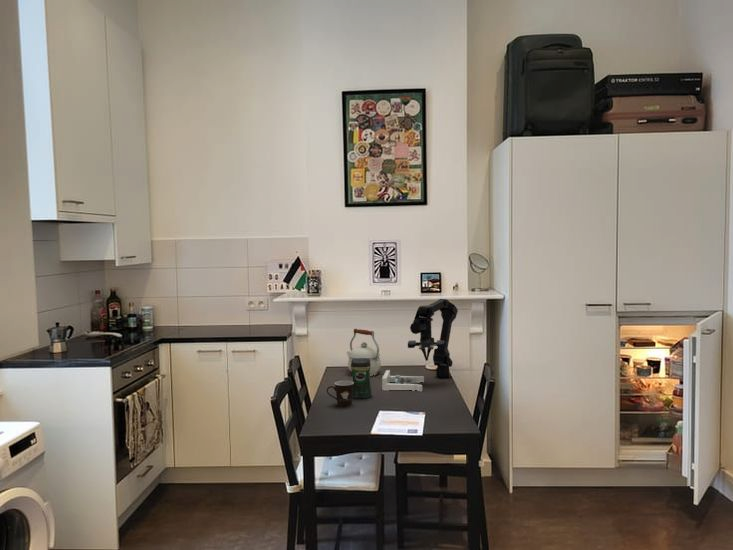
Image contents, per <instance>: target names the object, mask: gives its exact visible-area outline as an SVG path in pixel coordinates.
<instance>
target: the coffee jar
mask: <svg viewBox="0 0 733 550" xmlns="http://www.w3.org/2000/svg"><path fill="white" fill-rule="evenodd" d="M370 369H371V364H370V359H369V358H353V359H352V361H351V370H352V371H351V370H350V371H351V373H352V374H351V377H352V378H351V379H352V380H351V381H352V382H354V386H353V397H352V399H369V398H371V397H372V395H373V391H372V384H371V376H370Z"/></svg>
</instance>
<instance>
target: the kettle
mask: <svg viewBox="0 0 733 550" xmlns="http://www.w3.org/2000/svg"><path fill="white" fill-rule="evenodd" d="M357 334H359V335H366V336H371V338H372V341H373V343H374V345H375V346H376V348H375V347H373V346H368V343H367V342H365V341H363V342H362V343H361V344H360V346H356V347H355V348H353V341H354V339H355V338H356V336H357ZM349 348H350V349H349V351H346V354H347V357H348V362H347V366H348V369H349V371H351V372H352V370H351V361H352V359H353V358H369V359H370V364H371V369H370V377H373V375H374V376H376V375H377V374H378V371H379V370H380V369H381V365H382V362H381V358H380V356H381V354H380V347H379V344H378V342H377V340H376V339H375V331H374V330H368V329H360V328H359V329H358V328H353V337H351V340H350V342H349Z"/></svg>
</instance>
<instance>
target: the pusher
mask: <svg viewBox="0 0 733 550" xmlns="http://www.w3.org/2000/svg"><path fill="white" fill-rule="evenodd" d="M395 376H396V379H395V383H394V384H399V383H398V382H399V377H400V376H401V375H400V374H396V375H395Z"/></svg>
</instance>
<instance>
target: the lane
mask: <svg viewBox="0 0 733 550" xmlns="http://www.w3.org/2000/svg"><path fill="white" fill-rule="evenodd" d="M400 378H404V380H406V379H413V383H412V384H395V383H390V382H395V379H396V375H391V370H390V369H386V370H385V372H384V375H383V376H382V378H381V384H382V385H381V388H382V391H389V390H412V391H411V392H423V385H422V384H420V382H423V383H425V376H424V375H421V376H416V375H413V376H411V375H409V376H407V375H400ZM415 390H417V391H415Z"/></svg>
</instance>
